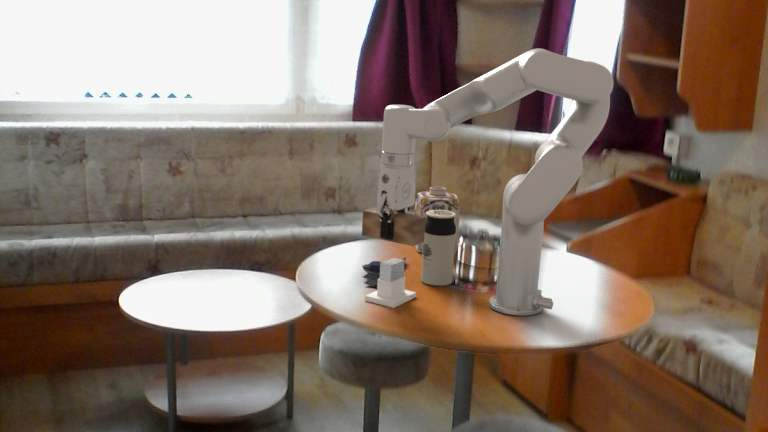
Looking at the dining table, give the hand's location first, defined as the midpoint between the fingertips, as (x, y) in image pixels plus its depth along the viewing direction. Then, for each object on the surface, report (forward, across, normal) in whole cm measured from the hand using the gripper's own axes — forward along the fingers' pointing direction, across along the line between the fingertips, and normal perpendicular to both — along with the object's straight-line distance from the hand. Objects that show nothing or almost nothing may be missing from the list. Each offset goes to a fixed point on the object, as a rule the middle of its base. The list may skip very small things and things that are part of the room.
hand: (393, 235), depth 204 cm
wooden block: (+1, 0, 0) cm, 1 cm away
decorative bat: (+16, +14, +11) cm, 24 cm away
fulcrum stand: (+16, 0, 0) cm, 16 cm away
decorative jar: (+16, +47, +14) cm, 52 cm away
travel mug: (+16, +19, -2) cm, 25 cm away
